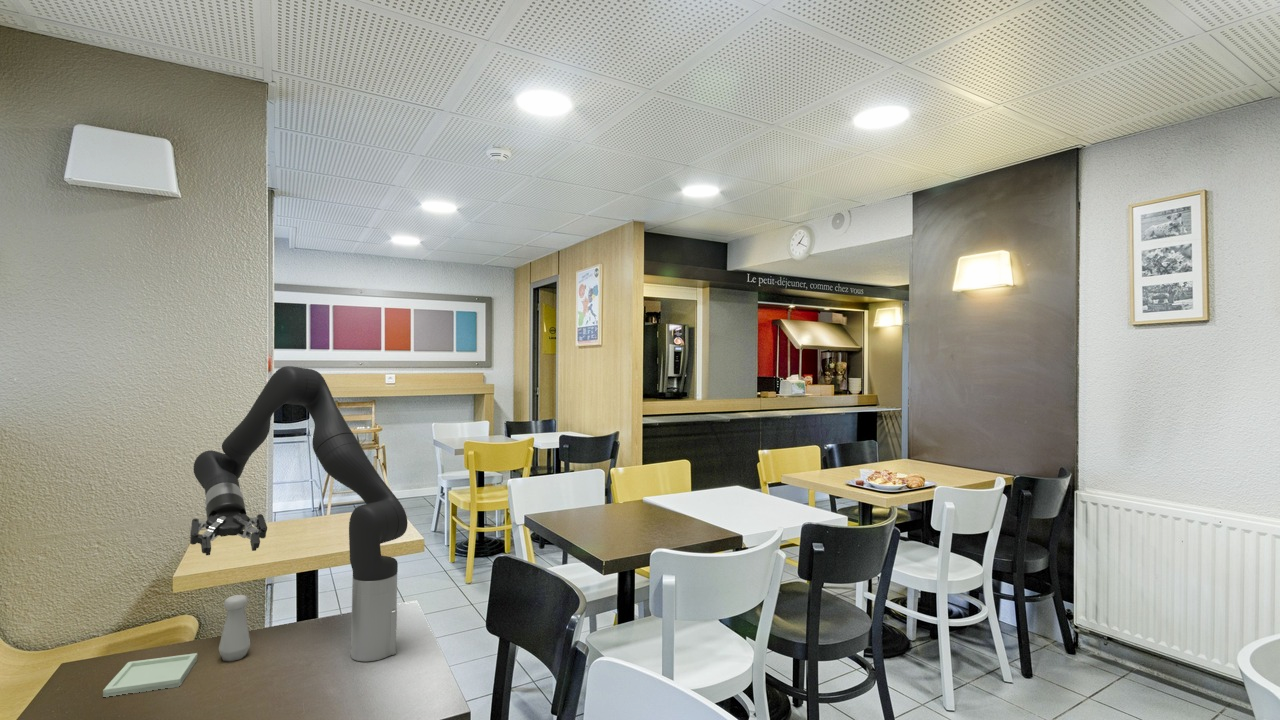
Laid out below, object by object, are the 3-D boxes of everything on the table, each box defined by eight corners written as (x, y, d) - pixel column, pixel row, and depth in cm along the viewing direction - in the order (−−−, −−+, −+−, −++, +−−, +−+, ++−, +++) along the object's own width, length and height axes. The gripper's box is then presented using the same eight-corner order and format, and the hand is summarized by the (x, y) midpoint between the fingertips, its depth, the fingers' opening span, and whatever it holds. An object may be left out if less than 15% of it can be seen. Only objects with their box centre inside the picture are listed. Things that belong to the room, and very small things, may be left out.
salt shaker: (234, 664, 131) (235, 602, 131) (211, 661, 132) (213, 600, 132) (256, 652, 136) (258, 593, 137) (234, 649, 137) (236, 591, 138)
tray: (197, 660, 132) (197, 653, 132) (179, 686, 121) (179, 679, 121) (128, 669, 128) (128, 662, 128) (102, 697, 117) (103, 689, 117)
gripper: (190, 493, 140) (195, 539, 129) (262, 490, 149) (272, 532, 138) (185, 521, 142) (189, 568, 131) (257, 516, 151) (266, 559, 140)
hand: (232, 549), depth 134 cm, fingers open, 8 cm apart
